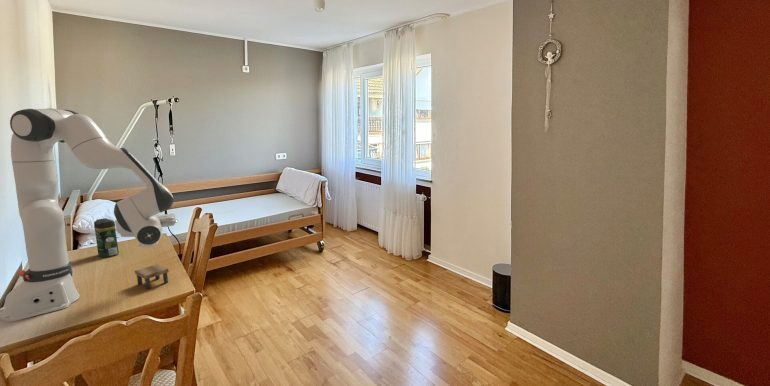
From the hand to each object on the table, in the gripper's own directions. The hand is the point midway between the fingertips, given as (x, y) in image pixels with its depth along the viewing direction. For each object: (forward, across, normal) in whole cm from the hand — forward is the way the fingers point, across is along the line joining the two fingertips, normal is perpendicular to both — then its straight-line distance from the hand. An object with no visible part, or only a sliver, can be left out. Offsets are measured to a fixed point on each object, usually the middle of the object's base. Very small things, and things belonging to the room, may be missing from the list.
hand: (146, 218), depth 156 cm
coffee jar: (+52, +17, +28) cm, 61 cm away
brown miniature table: (-1, 0, +28) cm, 28 cm away
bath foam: (-1, 0, +11) cm, 11 cm away
